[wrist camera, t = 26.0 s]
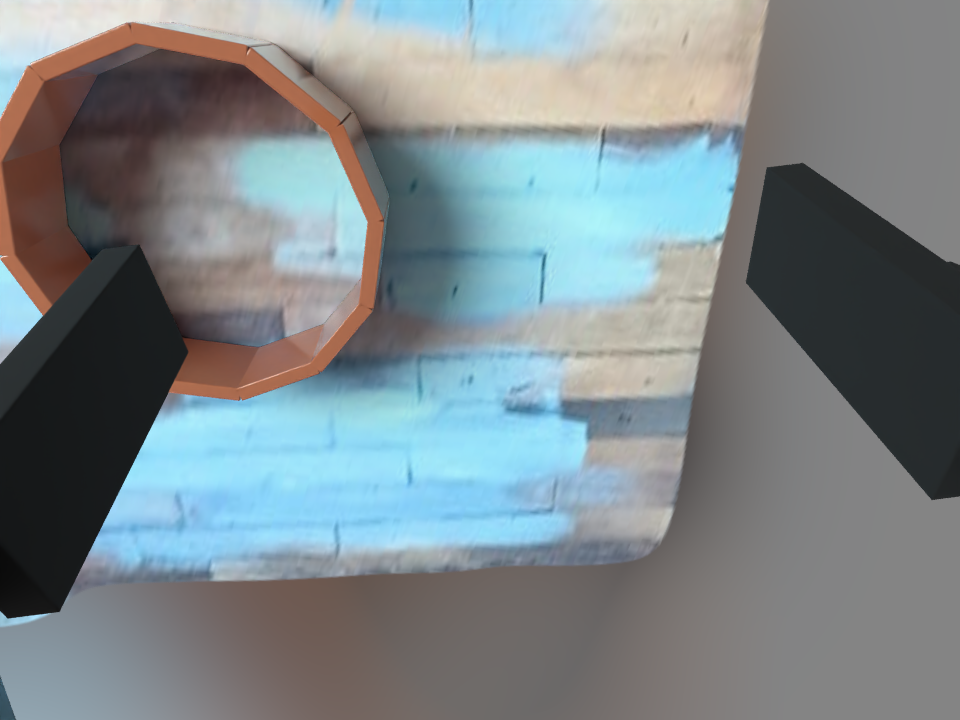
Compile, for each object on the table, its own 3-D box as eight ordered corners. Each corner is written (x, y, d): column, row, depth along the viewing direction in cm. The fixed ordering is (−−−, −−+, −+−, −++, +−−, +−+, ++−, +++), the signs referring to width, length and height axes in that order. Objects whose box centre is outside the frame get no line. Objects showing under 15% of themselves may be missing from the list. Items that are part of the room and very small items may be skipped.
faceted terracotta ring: (405, 69, 32) (402, 76, 27) (368, 372, 40) (360, 415, 35) (25, -8, 29) (-47, -14, 25) (65, 333, 37) (16, 375, 33)
